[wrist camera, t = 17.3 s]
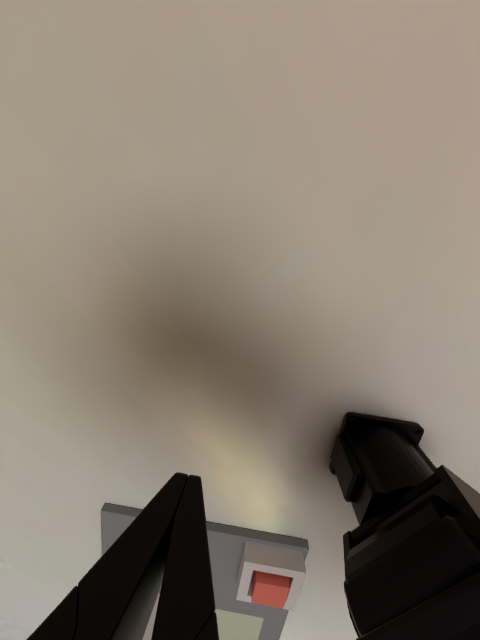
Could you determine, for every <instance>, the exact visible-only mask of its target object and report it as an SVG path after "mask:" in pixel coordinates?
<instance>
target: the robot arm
mask: <svg viewBox="0 0 480 640" xmlns="http://www.w3.org/2000/svg"><path fill="white" fill-rule="evenodd" d="M351 418H354V419H353V420H350V419H351ZM416 429H417V430H416ZM415 430H416V431H415ZM423 433H424V429H423V428H422V427H421V426H420V425H419V424H416V423H410V422H404V421H398V420H392V419H386V418H381V417H375V416H369V415H363V414H357V413H348V414H347V415H346V416H345V419H344V422H343V425H342V428H341V431H340V434H338V435H337V437H336V441H335V444H334V447H333V450H332V453H331V457H330V458H331V463H330V466H329V468H330V471H331V473H332V474H334V475H336V476H337V478H338V481H339V484H340V487H341V490H342V493H343V496H344V498H345V500H346V501H347V502H351V503H352V506H353V509H354V511H355V514H356V517H357V520H358V523H359V525H360V526H358V527H357V528H355V529H354V530H353V531H351V532H350V531H348V532H347V533H345V534H344V535H343V544H344V562H345V581H344V591H345V594H346V598H347V605H348V609H349V614H350V618H351V620H352V623H353V625H354V628H355V631H356V633H357V635H358V638H357V639H356V640H480V494H479V493H478V492H477V491H476V490H474V489H473V488H472V487H470V486H469V485H468V484H467V483H465V482H464V481H463V480H461V479H460V478H459V477H458V476H456V475H455V474H454V473H452V472H451V471H450V470H449V469H447V468H446V467H445V466H443V465H441V466H440V467H438V468H436V467H435V466H434V465H433V463H432V462H431V461H430V460H429V458H428V457H427V456H426V455H425V453H424V452H423V451H422V450H421V448H420V447H419V446H418V444H419V442H420V440H421V437H422V435H423ZM160 587H161V590H160ZM159 590H160V596H159V601H158V606H157V611H156V617H155V622H154V627H153V633H152V638H151V640H219V634H218V624H217V615H216V613H215V610H216V608H215V599H214V590H213V581H212V572H211V563H210V554H209V545H208V536H207V527H206V518H205V509H204V500H203V491H202V482H201V477H200V476H195V475H189V476H188V475H187V474H184V473H175V474H174V475H173V476H172V477H171V478H170V480H169V481H168V482H167V483H166V484H165V485H164V486H163V488H162V489H161V490H160V491H159V492H158V493H157V494H156V495H155V497H154V498H153V499H152V500H151V501H150V502H149V503H148V505H147V506H146V507H145V508H144V509H143V510H142V511H141V512H140V514H139V515H138V516H137V517H136V518H135V519H134V520H133V522H132V523H131V524H130V525H129V526H128V527H127V528H126V529H125V531H124V532H123V533H122V534H121V535H120V536H119V537H118V539H117V540H116V541H115V542H114V543H113V544H112V545H111V546H110V548H109V549H108V550H107V551H106V552H105V553H104V554H103V556H102V557H101V558H100V559H99V560H98V561H97V562H96V563H95V565H94V566H93V567H92V568H91V569H90V570H89V571H88V573H87V574H86V575H85V576H84V577H83V578H82V579H81V580H80V582H79V583H78V586H75V587H74V588H73V589H72V590H71V592H70V593H69V594H68V595H67V596H66V597H65V598H64V600H63V601H62V602H61V603H60V604H59V605H58V606H57V607H56V608H55V610H54V611H53V612H52V613H51V614H50V615H49V616H48V617H47V618H46V619H45V620H44V621H43V623H42V624H41V625H40V626H39V627H38V628H37V629H36V630H35V631H34V632H33V633H32V634H31V635H30V636H29V637H28V638H27V639H26V640H142V639H143V636H144V633H145V630H146V628H147V625H148V622H149V619H150V616H151V613H152V610H153V608H154V605H155V602H156V599H157V596H158V593H159Z"/></svg>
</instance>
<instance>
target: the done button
mask: <svg viewBox="0 0 480 640" xmlns="http://www.w3.org/2000/svg"><path fill="white" fill-rule="evenodd" d="M289 589H290V588H289V577H287V576H282V575H277V574H271V573H266V572H261V571H255V570H253V574H252V594H251V603H256V604H261V605H266V606H272V607H277V608H282V609H283V607H284V604H285V601H286V598H287V595H288V592H289Z"/></svg>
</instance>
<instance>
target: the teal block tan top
mask: <svg viewBox="0 0 480 640" xmlns="http://www.w3.org/2000/svg"><path fill="white" fill-rule="evenodd" d="M159 596H160V594H158V596H157V599H156V602H155V605H154V608H153V610H152V613H151V616H150V619H149V622H148V625H147V628H146V630H145V633H144V636H143V639H142V640H151V638H152V633H153V627H154V622H155V617H156V611H157V606H158V601H159Z"/></svg>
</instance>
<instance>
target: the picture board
mask: <svg viewBox="0 0 480 640" xmlns="http://www.w3.org/2000/svg"><path fill="white" fill-rule="evenodd" d="M141 511H142V510H141V509H135V508H130V507H125V506H119V505H114V504H108V503H105V504H104V506H103V507H102V509H101V540H102V556H103V554H104V553H105V552H106V551H107V550H108V549H109V548H110V546H111V545H112V544H113V543H114V542H115V541H116V540H117V539H118V537H119V536H120V535H121V534H122V533H123V532H124V531H125V529H126V528H127V527H128V526H129V525H130V524H131V523H132V522H133V520H134V519H135V518H136V517H137V516H138V515H139V514H140V512H141ZM206 527H207V536H208V545H209V554H210V563H211V572H212V581H213V590H214V599H215V608H216V610H215V613H216V615H217V624H218V634H219V640H279V638H280V635H281V632H282V629H283V626H284V623H285V620H286V617H287V614H288V611H289V610H292V611H293V610H294V607H295V604H296V601H297V598H298V595H299V592H300V589H301V587H302V584H303V581H304V578H305V575H306V569H305V559H306V556H307V553H308V550H309V547H308V541H307V540H305V539H300V538H294V537H289V536H283V535H278V534H272V533H267V532H261V531H256V530H250V529H245V528H239V527H234V526H229V525H223V524H218V523H212V522H207V521H206ZM253 570H255V571H261V572H266V573H271V574H277V575H282V576H287V577H289V588H290V589H289V592H288V595H287V598H286V601H285V604H284V607H283V609H282V608H277V607H272V606H266V605H261V604H256V603H251V594H252V574H253ZM160 590H161V587H160ZM160 590H159V593H158V594H160Z"/></svg>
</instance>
